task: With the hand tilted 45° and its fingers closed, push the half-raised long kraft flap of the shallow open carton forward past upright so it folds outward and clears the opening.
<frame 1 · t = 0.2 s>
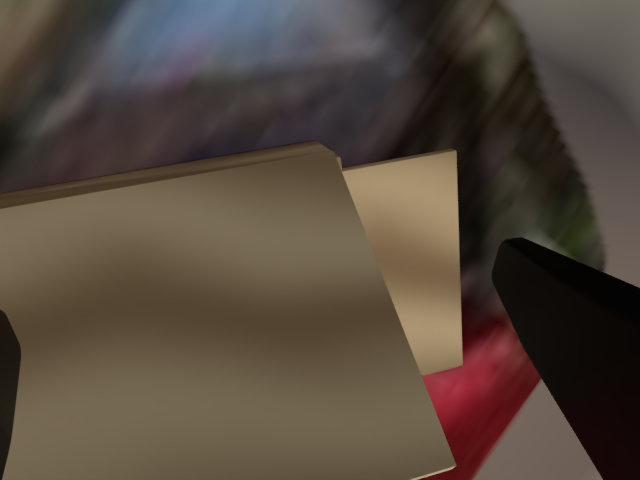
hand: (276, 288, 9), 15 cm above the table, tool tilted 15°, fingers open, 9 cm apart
flap: (176, 327, 15), point 10 cm above the table, hinge at 55.0°
open box: (195, 282, 25), on the table
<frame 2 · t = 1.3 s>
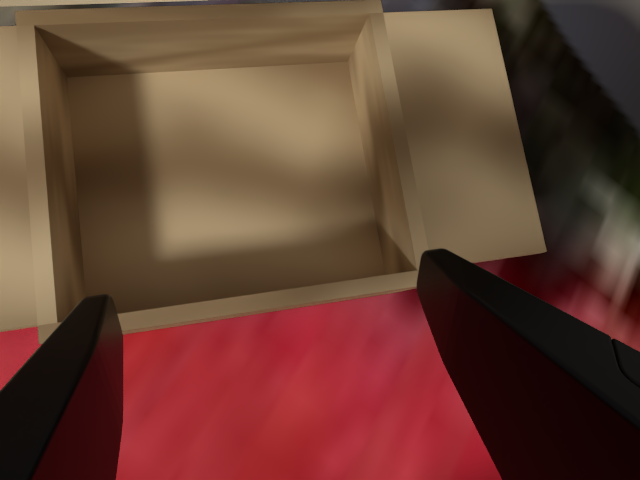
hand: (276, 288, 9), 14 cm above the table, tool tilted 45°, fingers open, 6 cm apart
open box: (229, 184, 23), on the table
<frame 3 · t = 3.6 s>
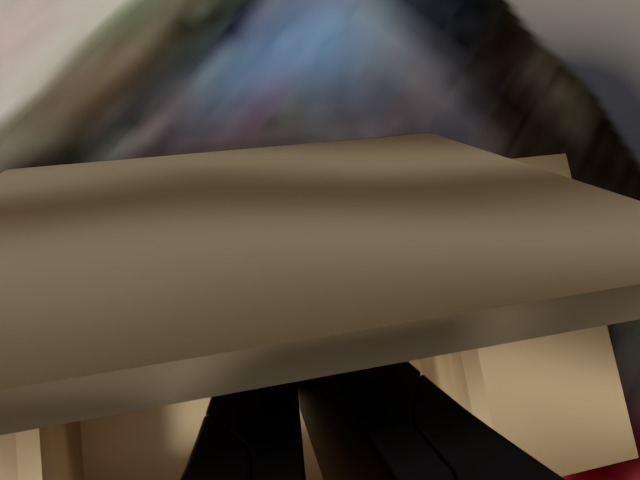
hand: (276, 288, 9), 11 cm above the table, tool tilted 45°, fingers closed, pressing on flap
flap: (258, 208, 11), point 10 cm above the table, hinge at 60.1°, touching gripper
open box: (255, 350, 20), on the table
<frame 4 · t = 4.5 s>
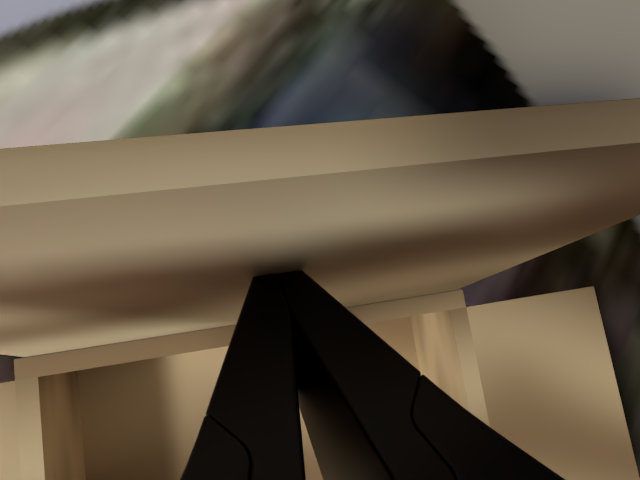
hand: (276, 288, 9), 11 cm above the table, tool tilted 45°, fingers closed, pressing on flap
flap: (270, 275, 10), point 11 cm above the table, hinge at 95.2°, touching gripper
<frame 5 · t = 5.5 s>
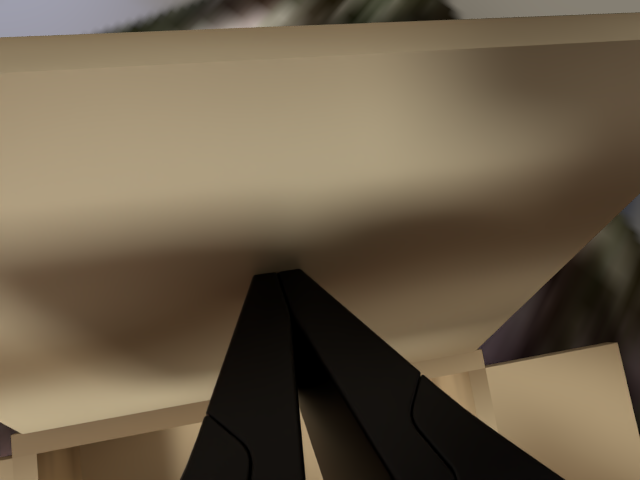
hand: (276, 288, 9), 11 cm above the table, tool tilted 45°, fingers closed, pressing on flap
flap: (272, 293, 10), point 10 cm above the table, hinge at 112.6°, touching gripper
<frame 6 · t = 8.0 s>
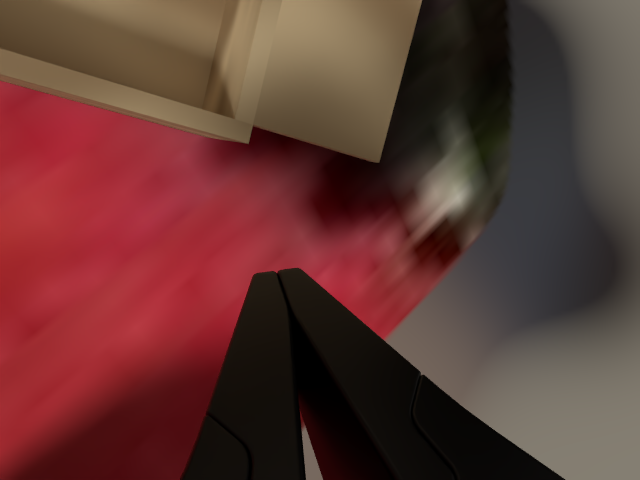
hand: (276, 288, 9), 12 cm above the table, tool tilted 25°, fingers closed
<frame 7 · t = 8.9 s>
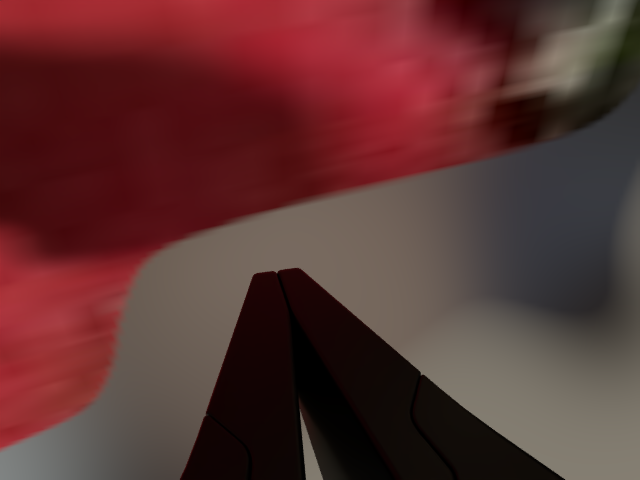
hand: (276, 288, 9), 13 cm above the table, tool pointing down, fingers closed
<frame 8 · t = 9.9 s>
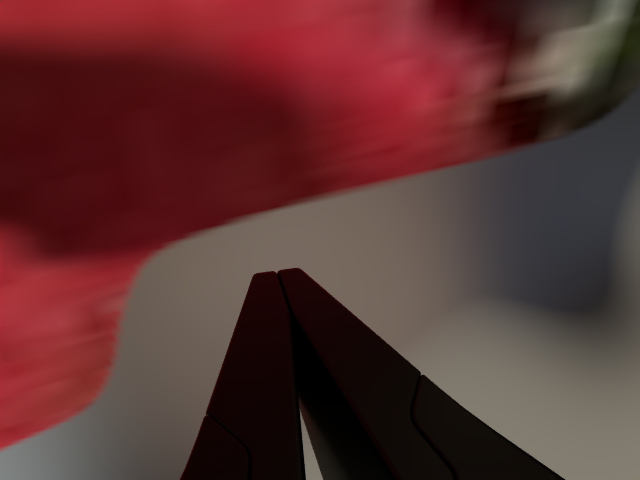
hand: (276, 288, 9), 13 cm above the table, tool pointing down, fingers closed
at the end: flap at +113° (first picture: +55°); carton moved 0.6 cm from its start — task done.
